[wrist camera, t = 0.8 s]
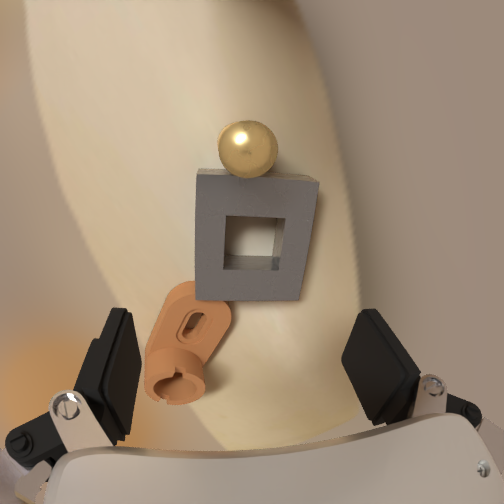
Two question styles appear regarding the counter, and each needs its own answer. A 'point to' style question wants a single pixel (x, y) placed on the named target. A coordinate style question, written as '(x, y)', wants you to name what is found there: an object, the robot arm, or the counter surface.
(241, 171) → the gold rounded cylinder
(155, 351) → the bracket
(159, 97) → the counter surface
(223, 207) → the plate
